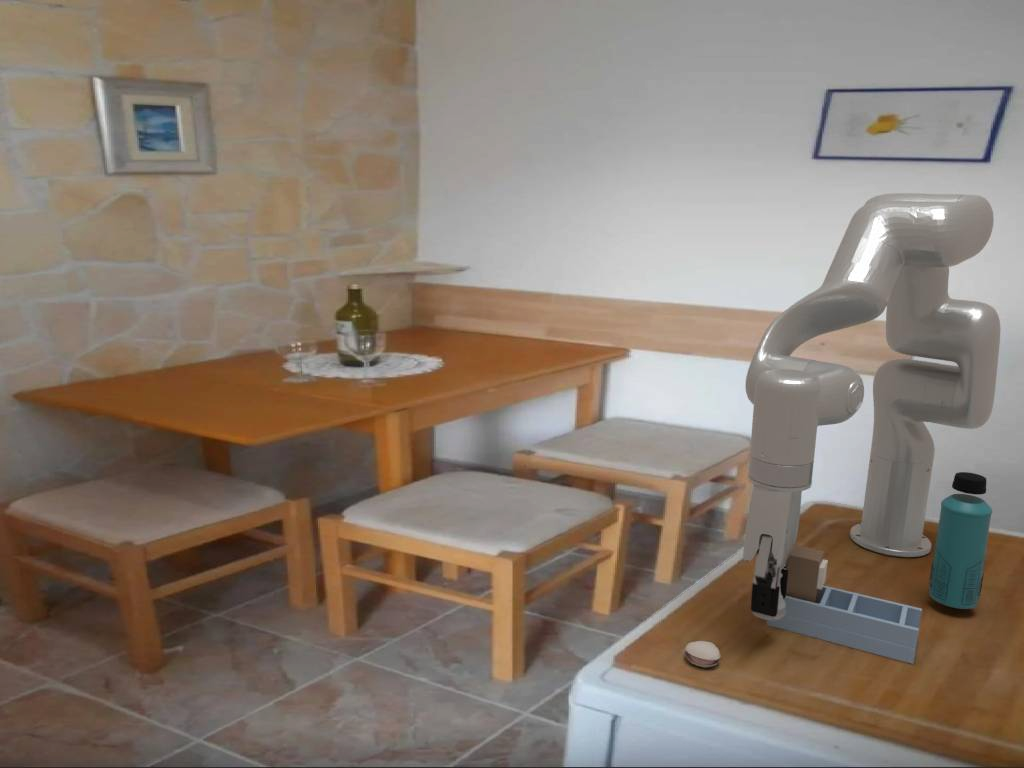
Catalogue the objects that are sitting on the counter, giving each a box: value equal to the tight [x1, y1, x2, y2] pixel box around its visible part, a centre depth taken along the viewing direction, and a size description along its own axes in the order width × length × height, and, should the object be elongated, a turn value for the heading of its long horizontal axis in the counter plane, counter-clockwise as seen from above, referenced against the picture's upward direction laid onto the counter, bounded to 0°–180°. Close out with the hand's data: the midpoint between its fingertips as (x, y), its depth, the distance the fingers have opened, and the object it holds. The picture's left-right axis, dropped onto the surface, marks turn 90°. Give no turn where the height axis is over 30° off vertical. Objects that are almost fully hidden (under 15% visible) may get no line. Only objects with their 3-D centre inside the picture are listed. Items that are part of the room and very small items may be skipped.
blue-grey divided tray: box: [766, 544, 923, 665], centre depth 108 cm, size 7×18×10 cm, turn 60°
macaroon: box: [684, 640, 721, 668], centre depth 101 cm, size 4×5×2 cm
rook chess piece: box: [749, 558, 786, 621], centre depth 105 cm, size 4×4×8 cm
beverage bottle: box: [928, 471, 993, 610], centre depth 115 cm, size 6×7×20 cm
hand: (768, 603), depth 105 cm, fingers closed on rook chess piece, 4 cm apart
